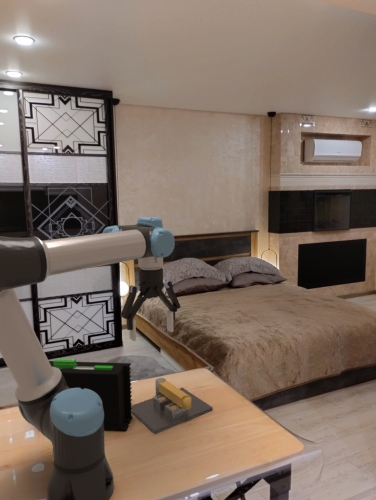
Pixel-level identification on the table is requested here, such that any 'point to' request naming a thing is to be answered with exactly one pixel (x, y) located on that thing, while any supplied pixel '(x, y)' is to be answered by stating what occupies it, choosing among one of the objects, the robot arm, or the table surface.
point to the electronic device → (102, 387)
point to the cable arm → (173, 393)
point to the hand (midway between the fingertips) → (152, 335)
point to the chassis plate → (161, 418)
